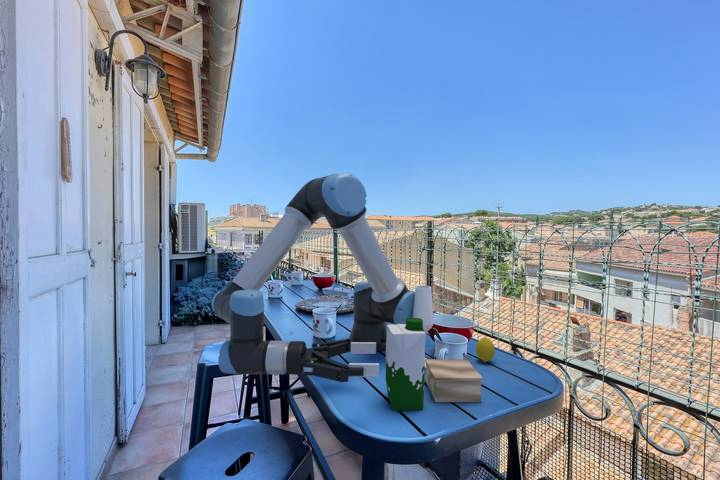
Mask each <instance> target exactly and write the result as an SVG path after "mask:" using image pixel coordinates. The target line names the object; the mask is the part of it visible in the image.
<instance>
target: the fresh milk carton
mask: <svg viewBox="0 0 720 480" xmlns="http://www.w3.org/2000/svg"><path fill="white" fill-rule="evenodd" d="M386 326H387V336H386V349H385V385H386V387H385V388H386V394H387V398H388V400H389V403H390V406H391V409H392V411H394V412H395V411H397V412H398V411H400V412H401V411H421V410H424V402H425V401H424V399H425V397H424V396H425V382H426V368H425V358H426V354H425V353H426V341H427V340H426V339H427V332H425V331H424V329H423V320H422V319H420V318H407V319H406V324H397V325H394V324H386Z"/></svg>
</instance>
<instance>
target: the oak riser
mask: <svg viewBox="0 0 720 480" xmlns="http://www.w3.org/2000/svg"><path fill="white" fill-rule="evenodd" d="M425 363H426V368H425V382H426V385H427V386H428V389H429V390H430V393H431V396H432V398H433V400H434V402H435V403H481V401H482V382H483V381H484V378H483V376H482V375H481V374H480V373H479V372H478V371H477V370H476V369H475V367H474V365H472V363H470V361H469V360H468V359H466V358H465V359H464V358H463V359H446V358H444V359H442V358H441V359H440V358H439V359H437V358H436V359H435V358H433V359H432V358H430V359H429V358H426V359H425Z"/></svg>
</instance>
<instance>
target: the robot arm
mask: <svg viewBox="0 0 720 480" xmlns="http://www.w3.org/2000/svg"><path fill="white" fill-rule="evenodd" d="M296 192H297V193H296V194H294V196H293V197H292V199H291V200H290V201H289V202H288V204H286V206H285V207H284V214H283V215H282V216H281V218H280V219H279V220H278V222H277V223H276V224H275V226H274V227H273V228H272V229H271V231H270V232H269V233H268V234H267V236H266V237H265V238H264V240H263V241H262V242H261V244H259V246H258V247H257V249H256V250H255V251H254V252H253V254H252V255H251V256H250V257H249V259H248V260H247V261H246V263H245V264H244V265H243V266H242V267H241V269H240V270H239V272H238V273H237V274H236V275H235V277H234V278H233V279H232V281H230V283H229V284H227V287H225V288H224V289H222V290H219V291H217V292H216V293H215V294H214V295H213V297H212V299H211V303H210V305H211V309H212V311H213V312H214V314H215V315H216V316H217V317H218V318H219V319H222V320H224V321H225V322H226V323H228V324H229V326H230V327H229V329H230V331H229V333H230V334H229V335H230V339H229V340H226V341H224V342H223V344H222V345H221V346H220V349H219V356H218V358H217V359H218V360H217V361H218V363H217V364H218V367H219V370H220V371H221V372H222V374H227V375H228V374H231V375H238V376H241V375H273V376H275V377H277V376H278V375H286V373H287V374H288V375H290V376H291V375H293V376H296V375H298V376H300V375H304V376H314V377H317V378H322V379H325V380H326V379H327V380H330V381H334V382H338V383H348V382H349V378H380V363H377V362H375V363H374V362H373V363H371V362H369V363H366V362H365V363H364V362H358V363H356V362H349V363H348V364H345V363H342V362H339V361H336V360H334V359H331V358H333V357H337V356H340V355H344V354H348V353H350V354H352V355H354V354H355V355H357V354H359V355H364V354H365V355H370V354H371V355H375V354H377V352H379V351H384V350H386V336H387V323H389V324H390V325H397V324H406V319H407V318H413V308H414V299H415V290H409V287H408V286H407V285H406V283H405V280H403V279H402V278H401V277H398V276H397V275H396V273H395V272H394V270H393V268H392V266H391V264H390V262H389V260H388V259H387V257H386V254H385V252H384V251H383V249H382V247H381V245H380V243H379V241H378V240H377V237H376V235H375V233H374V232H373V230H372V228H371V226H370V224H369V222H368V220H367V219H366V214H367V210H368V209H367V207H366V205H367V199H366V198H367V190H366V188H365V186H364V184H363V183H362V181H361V180H360V179H359V178H358V177H357V176H355V175H353V174H351V173H346V172H345V173H344V172H343V173H342V172H338V173H332V174H329V175H325V176H321V177H317V178H313V179H310V180H309V181H308V182H306V183H305V184H304V185H302V187H301V188H300V189H299V190H298V191H296ZM321 218H325V220H326V221H327V224H328V225H329V227H330V228H331V230H334V231H338V232H339V233H340V235H341V237H342V238H343V241H344V243H345V244H346V246H347V247H348V249H349V251H350V252H351V254H352V256H353V258H354V260H355V261H356V263H357V265H358V266H359V268H360V270H361V272H362V274H363V275H364V278H365V279H366V281H359V282H356V283H355V284H354V287H353V293H352V295H353V325H352V327H351V330H350V334H349V337H348V338H344V339H337V340H331V341H325V342H313V343H311V348H310V347H309V348H308V347H307V343H306V342H305V340H291V341H288V340H264V337H265V336H264V334H265V333H264V326H265V325H264V323H265V322H264V321H265V320H264V319H265V316H264V315H265V312H264V311H265V302H264V293H263V292H262V291H260V290H261V289H262V288H263V286H264V285H265V283H266V282H267V281H268V280H269V278H270V277H271V275H272V274H273V273H274V272H275V270H276V269H277V268H278V266H279V264H280V263H281V262H282V261H283V260H284V258H285V257H286V256H287V254H288V253H289V251H290V250H291V249H292V247H293V246H294V245H295V243H296V242H297V241H298V239H299V238H300V236H301V235H302V234H303V233H304V231H305V230H306V229H310V228H311V227H312V226H313V225H314V223H315V222H317V221H318V220H319V219H321Z"/></svg>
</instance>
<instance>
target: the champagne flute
mask: <svg viewBox="0 0 720 480" xmlns="http://www.w3.org/2000/svg"><path fill="white" fill-rule="evenodd" d="M414 292H415V299H414V308H413V318H420V319H422V320H423V329H424V331H425V333H427V332H428V331H430V329H432V327H433V326H434V324H435V319H434V308H433V307H434V305H433V293H432V287H431V286H429V285H416V286H415V290H414ZM425 359H427V358H426V357H425ZM425 369H426V363H425Z"/></svg>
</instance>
